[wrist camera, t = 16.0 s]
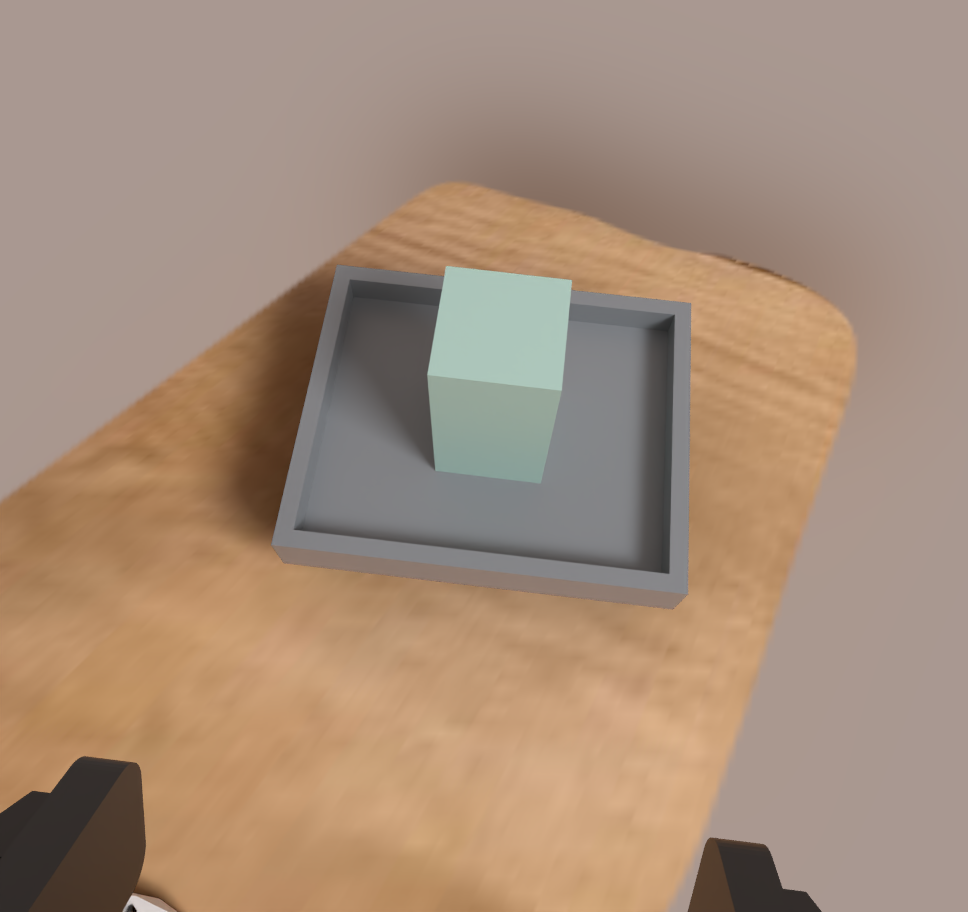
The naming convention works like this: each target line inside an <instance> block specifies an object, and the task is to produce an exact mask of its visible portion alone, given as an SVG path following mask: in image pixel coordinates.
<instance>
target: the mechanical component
mask: <svg viewBox="0 0 968 912" xmlns="http://www.w3.org/2000/svg"><path fill="white" fill-rule="evenodd" d="M133 905H134V907H135V908H136V910H137V912H177V911H176V910H174V909H173V908H172V907H170V906H169V905H168V904H166V903H165V902H163V901H162V900H161V899H159V898H154V897H150V896H145V895H140V894H136V893H132V895H131V897H130V899H129V901H128V902H127V904H126V906H125V908H124V910H123V912H133Z"/></svg>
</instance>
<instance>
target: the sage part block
mask: <svg viewBox="0 0 968 912" xmlns="http://www.w3.org/2000/svg"><path fill="white" fill-rule="evenodd" d="M571 286H572V280H566V279H557V278H548V277H539V276H531V275H522V274H513V273H504V272H495V271H486V270H477V269H469V268H460V267H451V266H446V270H445V276H444V281H443V287H442V293H441V299H440V304H439V310H438V316H437V322H436V328H435V333H434V339H433V345H432V351H431V356H430V362H429V368H428V374H427V378H428V390H429V401H430V413H431V425H432V437H433V449H434V461H435V471H441V472H449V473H457V474H466V475H474V476H482V477H491V478H499V479H507V480H515V481H524V482H532V483H540V484H541V480H542V476H543V471H544V467H545V462H546V458H547V454H548V449H549V445H550V440H551V436H552V432H553V427H554V423H555V418H556V414H557V409H558V405H559V401H560V396H561V392H562V383H563V372H564V361H565V350H566V340H567V329H568V318H569V307H570V297H571Z"/></svg>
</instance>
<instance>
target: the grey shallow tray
mask: <svg viewBox="0 0 968 912" xmlns="http://www.w3.org/2000/svg"><path fill="white" fill-rule="evenodd" d="M443 281H444V276H436V275H427V274H418V273H409V272H399V271H390V270H381V269H372V268H362V267H353V266H344V265H337V267H336V271H335V276H334V280H333V284H332V288H331V293H330V297H329V301H328V305H327V310H326V314H325V318H324V322H323V327H322V331H321V335H320V339H319V344H318V348H317V352H316V356H315V361H314V365H313V369H312V373H311V378H310V382H309V386H308V390H307V395H306V399H305V403H304V407H303V412H302V416H301V420H300V424H299V429H298V433H297V437H296V441H295V446H294V450H293V454H292V458H291V463H290V467H289V471H288V475H287V480H286V484H285V488H284V492H283V497H282V501H281V505H280V509H279V514H278V518H277V522H276V526H275V531H274V535H273V539H272V543H271V546H272V547H273V548H274V550H275V551H276V553H277V554H278V555H279V557H280V558H281V560H282V561H283V563H287V564H296V565H304V566H312V567H321V568H329V569H338V570H346V571H355V572H363V573H371V574H380V575H388V576H397V577H405V578H413V579H422V580H430V581H439V582H447V583H455V584H464V585H472V586H481V587H489V588H497V589H506V590H514V591H523V592H531V593H539V594H548V595H556V596H565V597H573V598H581V599H590V600H598V601H607V602H615V603H624V604H632V605H640V606H649V607H657V608H666V609H674V608H675V607H676V606H677V605H678V604H679V603H680V602H681V601H682V600H683V599H684V598H685V597H686V596H687V595H688V540H689V450H690V360H691V303H685V302H676V301H667V300H658V299H648V298H639V297H630V296H621V295H611V294H602V293H593V292H584V291H575V290H571V297H570V307H569V318H568V329H567V340H566V350H565V361H564V372H563V383H562V392H561V396H560V401H559V405H558V409H557V414H556V418H555V423H554V427H553V432H552V436H551V440H550V445H549V449H548V454H547V458H546V462H545V467H544V471H543V476H542V480H541V484H540V483H532V482H524V481H515V480H507V479H499V478H491V477H482V476H474V475H466V474H457V473H449V472H441V471H435V461H434V449H433V437H432V425H431V413H430V401H429V390H428V378H427V374H428V368H429V362H430V356H431V351H432V345H433V339H434V333H435V328H436V322H437V316H438V310H439V304H440V299H441V293H442V287H443Z"/></svg>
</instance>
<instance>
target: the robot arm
mask: <svg viewBox="0 0 968 912" xmlns="http://www.w3.org/2000/svg"><path fill="white" fill-rule="evenodd" d="M145 847H146V840H145V824H144V809H143V794H142V779H141V770H140V767H139V765H138V764H137V763H133V762H126V761H118V760H110V759H102V758H94V757H86V756H84V757H81V758H79V759H78V760H76V761H75V762H74V763H73V765H72V766H71V767H70V768H69V770H68V771H67V772H66V773H65V775H64V776H63V777H62V779H61V780H60V781H59V783H58V784H57V785H56V787H55V788H54V789H53V790H52V792H51V793H45V792H37V791H32V792H30V793H29V794H27V795H26V796H24V797H23V798H22V799H20V800H19V801H17V802H16V803H14V804H13V805H12V806H10V807H9V808H7V809H6V810H5V811H3V812H2V813H0V912H123V910H124V908H125V906H126V904H127V902H128V901H129V899H130V897H131V895H132V893H133V891H134V889H135V887H136V884H137V882H138V879H139V876H140V873H141V870H142V866H143V862H144V856H145ZM688 912H821V910H820V909H819V908H818V907H817V905H816V904H815V903H814V901H813V900H812V899H811V898H810V896H809V895H808V894H807V893H806V892H802V891H795V890H787V889H782V886H781V883H780V879H779V876H778V873H777V871H776V867H775V864H774V862H773V858H772V856H771V853H770V851H769V849H768V848H767V847H766V845H764V844H757V843H750V842H742V841H734V840H726V839H718V838H709V839H708V840H707V842H706V844H705V848H704V851H703V855H702V859H701V863H700V867H699V871H698V875H697V878H696V882H695V886H694V890H693V894H692V897H691V902H690V905H689V909H688Z"/></svg>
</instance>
